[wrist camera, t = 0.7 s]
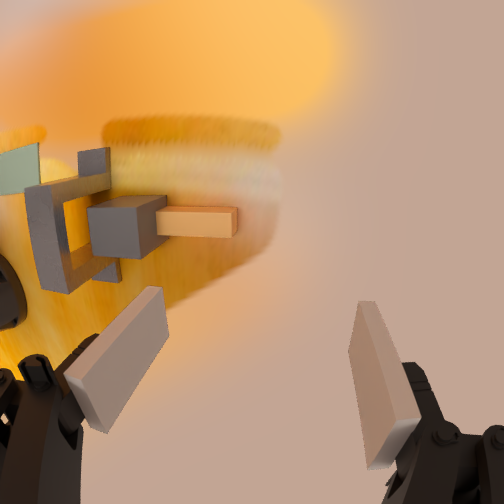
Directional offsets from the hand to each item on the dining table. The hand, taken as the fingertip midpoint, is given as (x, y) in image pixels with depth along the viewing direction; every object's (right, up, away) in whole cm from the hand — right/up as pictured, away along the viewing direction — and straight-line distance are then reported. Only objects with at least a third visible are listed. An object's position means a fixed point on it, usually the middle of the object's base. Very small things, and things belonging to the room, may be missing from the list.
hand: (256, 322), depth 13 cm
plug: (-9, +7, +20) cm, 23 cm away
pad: (-36, +16, +21) cm, 45 cm away
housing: (-19, +8, +21) cm, 30 cm away
